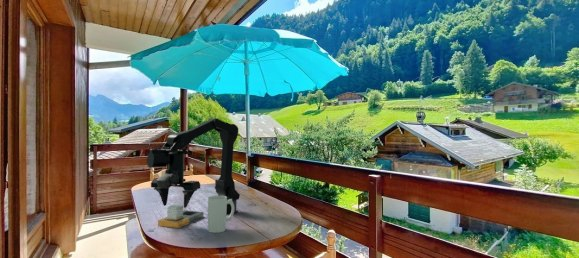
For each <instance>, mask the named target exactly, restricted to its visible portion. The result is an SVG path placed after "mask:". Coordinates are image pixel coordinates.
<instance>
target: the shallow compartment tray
mask: <svg viewBox="0 0 579 258" xmlns="http://www.w3.org/2000/svg"><path fill="white" fill-rule="evenodd" d="M204 216H205V215H204V211H195V210H186V209H185V210H183V219H181V220H179V221H168V220H167V217H164V218H161V219H158V220H157V226H158V227H165V228H172V227H173V228H175V229H181V228H182V227H185V226H186V225H189V224H192V223H194V222H195V221H198V220H200V219H202V218H204Z"/></svg>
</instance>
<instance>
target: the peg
mask: <svg viewBox="0 0 579 258" xmlns="http://www.w3.org/2000/svg"><path fill="white" fill-rule="evenodd" d="M183 211H184V204H171V205H169V206H167V214H166V215H167V220H168V221H179V220H181V219H183Z"/></svg>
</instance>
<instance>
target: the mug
mask: <svg viewBox="0 0 579 258" xmlns="http://www.w3.org/2000/svg"><path fill="white" fill-rule="evenodd" d="M207 199H208V200H207V231H208V233H209V232H210V233H214V234H215V233H216V234H218V233H223V232H225V231H226V227H227V226H226V225H227V222H231V221H232V219H233V216H234V214H235V213H234V204H233V201H232V199H229V200H227V197H226V196H218V195H211V196H208V198H207ZM227 204H230V205H231V207H232V210H231V214H228V215H229V216H227V214H226V210H227Z"/></svg>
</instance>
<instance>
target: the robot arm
mask: <svg viewBox="0 0 579 258" xmlns="http://www.w3.org/2000/svg"><path fill="white" fill-rule="evenodd" d="M212 130H214V131H215V132H218V133H219V138H220V140H221V144H222V147H221V149H222V150H221V162H220V163H221V164H220V176H219V178H218V179H214V180H215V182H214V183H215V185H214V189H215V192H216V194H217V196H226V197H227V200H229V199H232V201H233V204H234V214H235V213H238V212H239V210H238V209H237V203H238V202H237V201H238V200H239V199H240V196H241V195H240V193H239V192H238V191H237V190H236V186H235V185H236V183H235V181H234V178H233V158H234V147H235V146H234V145H235V143H236V141H237V139H238V135H239V127H238V125H236V124H235V123H230V122H226V121H223V120H221V119H219V118H216V117H215V118H209V119H208V120H206V121H204V122H202V123H200V124H198V125H195V126H194V127H191V128H190V129H187V130H183V131H180V132H179V131H178V132H176V133H171V134H169V135H168V136H167V138H166V141H165V143H164V144H163V146H162V147H161V148H160V149H156V148H155V149H154V148H150V149H149V153H148V154H147V157H146V164H147V167H148V169H149V168H150V169H151V168H152V169H153V168H154V169H155V168H166V167H167V169H165V172H164V174H162V175H160V176H159V177H158V178H156V179H152V181H151V183H150V187H151V188H153V190H154V191H157V192H158V194H159V197H160V199H161V202H162V205H163V206H164V207H166V206H167V203H168V199H169V191H170V188H171V187H172V188H173V187H175V188H182V189H183V190H182V191H181V192H182V193H183V209H186V208H187V207H188V205H189V204H190V201H191V199H192V197H193V195H194V194H195V192H197V191H198V190H199V189H201V183H200V181H199V180H188V181H186V178H185V177H184V176H185V175H184V174H185V172H187V170H186V169H187V168H185V155H190V152H189V151H188V150H187V149H186V148H185V147H187V146H189V145H190V144H191V143H192V141H193V140H195V139H196V138H199V137H200V136H202V135H204V134H207V133H209V132H211V131H212ZM231 210H232V207H231V205H230V204H227V210H226V215H230V214H231Z"/></svg>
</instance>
